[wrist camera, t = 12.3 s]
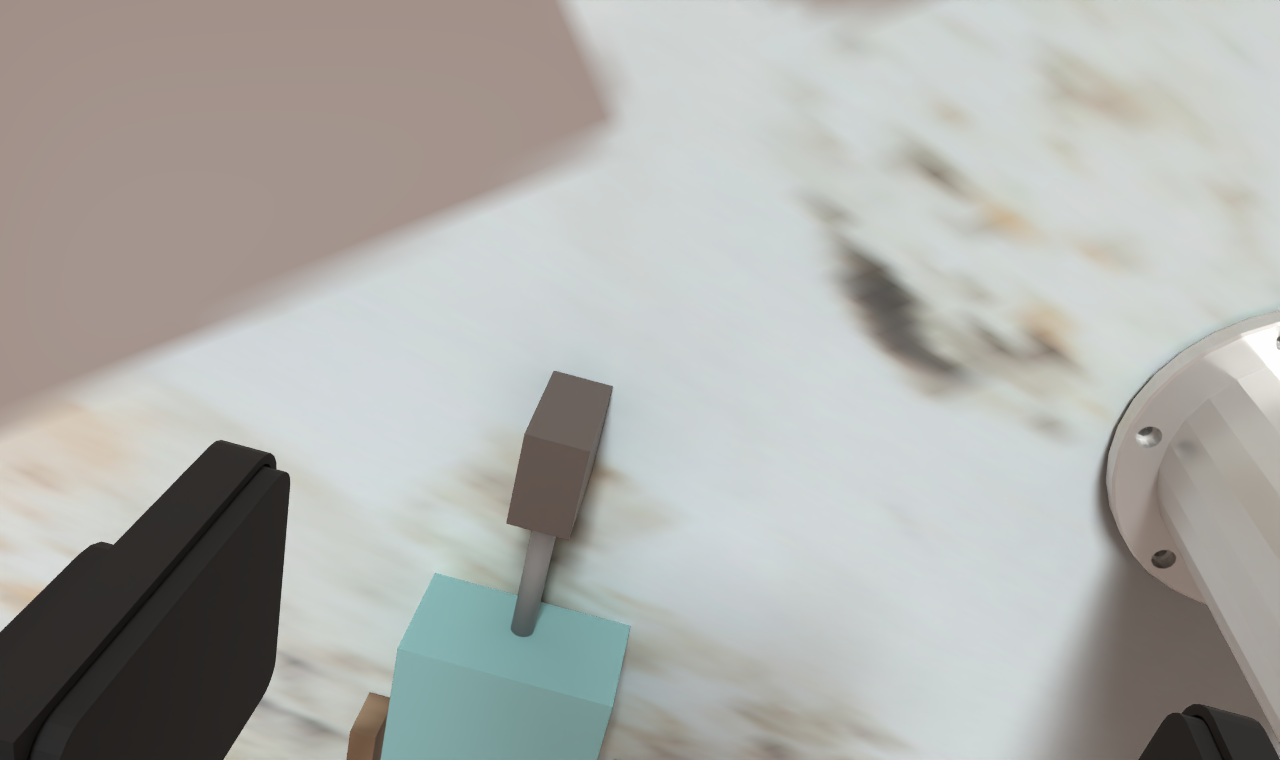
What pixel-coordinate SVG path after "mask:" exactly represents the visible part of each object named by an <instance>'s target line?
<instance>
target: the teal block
mask: <svg viewBox="0 0 1280 760" xmlns="http://www.w3.org/2000/svg"><path fill="white" fill-rule="evenodd" d="M612 387H613V386H609V385H605V384H602V383H598V382H594V381H590V380H587V379H583V378H579V377H575V376H572V375H568V374H564V373H560V372H557V371H554V372H553V374H552V376H551V378H550V380H549V382H548V385H547V387H546V389H545V391H544V393H543V395H542V398H541V400H540V402H539V404H538V406H537V408H536V411H535V413H534V415H533V417H532V419H531V421H530V424H529V426H528V428H527V430H526V432H525V435H524V440H523V444H522V449H521V454H520V459H519V464H518V469H517V474H516V479H515V484H514V488H513V493H512V498H511V503H510V508H509V513H508V518H507V523H506V524H510V525H514V526H518V527H521V528H525V529H529V530H532V533H531V537H530V542H529V546H528V551H527V555H526V560H525V564H524V569H523V574H522V578H521V583H520V587H519V592H518V595H514V594H511V593H507V592H503V591H500V590H496V589H492V588H489V587H485V586H481V585H477V584H474V583H470V582H466V581H463V580H459V579H455V578H452V577H448V576H444V575H441V574H437V573H435V575H434V577H433V579H432V581H431V583H430V585H429V587H428V589H427V591H426V593H425V595H424V597H423V599H422V601H421V603H420V605H419V607H418V609H417V611H416V613H415V615H414V617H413V619H412V621H411V623H410V625H409V627H408V629H407V631H406V633H405V635H404V637H403V639H402V641H401V643H400V645H399V647H398V650H397V657H396V663H395V670H394V676H393V683H392V689H391V696H390V702H389V709H388V715H387V722H386V728H385V735H384V741H383V748H382V754H381V760H597V759H598V755H599V752H600V748H601V745H602V742H603V738H604V735H605V731H606V728H607V725H608V721H609V718H610V714H611V711H612V708H613V703H614V699H615V694H616V690H617V685H618V680H619V676H620V671H621V667H622V662H623V657H624V653H625V648H626V644H627V639H628V635H629V630H630V626H628V625H625V624H621V623H617V622H614V621H610V620H606V619H603V618H599V617H595V616H592V615H588V614H584V613H581V612H577V611H573V610H569V609H566V608H562V607H558V606H555V605H551V604H547V603H544V602H541V598H542V594H543V589H544V585H545V581H546V577H547V572H548V568H549V564H550V560H551V555H552V551H553V547H554V542H555V538H556V537H558V538H562V539H566V540H569V538H570V535H571V532H572V529H573V526H574V523H575V520H576V517H577V514H578V511H579V508H580V505H581V502H582V499H583V496H584V493H585V490H586V487H587V484H588V481H589V478H590V475H591V472H592V469H593V465H594V461H595V457H596V453H597V449H598V444H599V440H600V436H601V432H602V428H603V424H604V420H605V416H606V412H607V408H608V404H609V400H610V396H611V391H612Z"/></svg>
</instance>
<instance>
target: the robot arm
mask: <svg viewBox="0 0 1280 760" xmlns="http://www.w3.org/2000/svg"><path fill="white" fill-rule="evenodd" d="M1279 336H1280V311H1277V312H1272V313H1268V314H1264V315H1260V316H1256V317H1252V318H1249V319H1246V320H1244V321H1241V322H1239V323H1236V324H1234V325H1231V326H1229V327H1226V328H1224V329H1221V330H1219V331H1216V332H1214V333H1212V334H1211V335H1209V336H1207V337H1206V338H1204V339H1202V340H1201V341H1199V342H1197V343H1196V344H1194V345H1192V346H1191V347H1189V348H1187V349H1186V350H1184V351H1182V352H1181V353H1180V354H1179V355H1177V356H1176V357H1175V358H1174V359H1173V360H1171V361H1170V362H1169V363H1168V364H1167V365H1165V366H1164V367H1163V368H1162V369H1161V370H1159V371H1158V372H1157V373H1156V374H1155V375H1154V376H1153V377H1152V378H1151V379H1150V381H1149V382H1148V383H1147V384H1146V385H1145V386H1144V388H1143V389H1142V390H1141V391H1140V392H1139V393H1138V395H1137V396H1136V397H1135V398H1134V399H1133V401H1132V403H1131V404H1130V406H1129V408H1128V409H1127V411H1126V413H1125V415H1124V416H1123V418H1122V420H1121V422H1120V423H1119V425H1118V427H1117V430H1116V433H1115V436H1114V439H1113V442H1112V445H1111V448H1110V451H1109V454H1108V464H1107V475H1106V485H1107V493H1108V500H1109V507H1110V509H1111V512H1112V514H1113V517H1114V519H1115V522H1116V524H1117V527H1118V530H1119V532H1120V534H1121V535H1122V537H1123V539H1124V541H1125V543H1126V544H1127V546H1128V548H1129V550H1130V552H1131V553H1132V555H1133V556H1134V557H1135V558H1136V559H1137V560H1138V562H1139V563H1140V564H1141V565H1142V566H1143V567H1144V569H1145V570H1146V571H1147V572H1149V573H1150V574H1151V575H1152V576H1154V577H1155V578H1157V579H1158V580H1159V581H1161V582H1162V583H1164V584H1165V585H1166V586H1168V587H1169V588H1171V589H1172V590H1174V591H1176V592H1178V593H1180V594H1182V595H1185V596H1187V597H1189V598H1191V599H1193V600H1195V601H1198V602H1200V603H1204V604H1207V606H1208V608H1209V610H1210V612H1211V613H1212V615H1213V617H1214V619H1215V621H1216V623H1217V625H1218V627H1219V629H1220V631H1221V632H1222V634H1223V636H1224V638H1225V640H1226V642H1227V644H1228V646H1229V648H1230V650H1231V651H1232V653H1233V655H1234V657H1235V659H1236V661H1237V663H1238V665H1239V667H1240V669H1241V670H1242V672H1243V674H1244V676H1245V678H1246V680H1247V682H1248V684H1249V686H1250V688H1251V689H1252V691H1253V693H1254V695H1255V697H1256V699H1257V701H1258V703H1259V705H1260V707H1261V708H1262V710H1263V712H1264V714H1265V716H1266V718H1267V720H1268V722H1269V724H1270V726H1271V727H1272V729H1273V731H1274V733H1275V735H1276V737H1277V739H1278V741H1279V743H1280V337H1279ZM1146 427H1147V428H1146ZM1143 428H1146V429H1144V430H1141V429H1143ZM289 492H290V477H289V474H288V473H287V472H284V471H280V470H276V460H275V457H274V456H273V455H272V454H271V453H267V452H264V451H260V450H256V449H253V448H249V447H245V446H241V445H238V444H234V443H230V442H227V441H223V440H220V441H216V442H214V443H213V444H212V445H211V446H209V447H208V448H207V450H206V451H205V452H204V453H203V454H202V455H201V456H200V457H199V458H198V459H197V460H196V461H195V462H194V463H193V464H192V465H191V466H190V467H189V468H188V469H187V470H186V471H185V472H184V473H183V474H182V475H181V476H180V477H179V478H178V479H177V480H176V481H175V482H174V483H173V484H172V485H171V486H170V488H169V489H168V490H167V491H166V492H165V493H164V494H163V495H162V496H161V497H160V498H159V499H158V500H157V501H156V502H155V503H154V504H153V505H152V506H151V507H150V508H149V509H148V510H147V511H146V512H145V513H144V514H143V515H142V516H141V517H140V518H139V519H138V520H137V521H136V522H135V523H134V524H133V526H132V527H131V528H130V529H129V530H128V531H127V532H126V533H125V534H124V535H123V536H122V537H121V538H120V539H119V540H118V541H117V542H116V543H115V544H114V545H112V544H108V543H105V542H99V543H96V544H93V545H90V546H89V547H88V548H87V549H85V550H84V551H83V552H81V553H80V554H79V555H78V556H77V557H76V558H75V559H74V560H73V561H72V562H71V563H70V564H69V565H68V566H67V567H66V568H65V569H64V570H63V571H62V572H61V573H60V574H59V575H58V576H57V577H56V578H55V579H54V580H53V581H52V582H51V583H50V584H49V585H48V586H47V587H46V588H45V589H44V590H43V591H42V592H41V593H40V594H39V595H38V596H36V597H35V598H34V599H33V600H32V601H31V602H30V603H29V604H28V605H27V606H26V607H25V608H24V609H23V610H22V611H21V612H20V613H19V614H18V615H17V616H16V617H15V618H14V619H13V620H12V621H11V622H10V623H9V624H8V625H7V626H6V627H5V628H4V629H3V630H2V631H1V632H0V760H223V759H224V758H225V756H226V755H227V753H228V751H229V750H230V748H231V747H232V745H233V743H234V742H235V740H236V739H237V737H238V735H239V734H240V732H241V731H242V729H243V728H244V726H245V724H246V723H247V721H248V720H249V718H250V716H251V715H252V713H253V712H254V710H255V708H256V707H257V705H258V704H259V702H260V700H261V699H262V697H263V695H264V694H265V692H266V690H267V687H268V685H269V683H270V680H271V677H272V674H273V670H274V667H275V660H276V649H277V637H278V625H279V613H280V601H281V589H282V577H283V565H284V552H285V540H286V528H287V516H288V504H289ZM1139 760H1280V759H1279V757H1278V755H1277V753H1276V751H1275V749H1274V747H1273V745H1272V743H1271V741H1270V739H1269V738H1268V736H1267V734H1266V732H1265V730H1264V729H1263V727H1262V726H1261V725H1260V723H1259V722H1257V721H1256V720H1254V719H1252V718H1250V717H1246V716H1242V715H1238V714H1235V713H1231V712H1227V711H1224V710H1220V709H1216V708H1213V707H1209V706H1205V705H1201V704H1193V705H1191V706H1190V707H1188V708H1186V709H1185V710H1184V712H1183V713H1182V714H1180V713H1172V714H1170V715H1168V716H1167V717H1166V718H1165V720H1164V721H1163V722H1162V724H1161V725H1160V727H1159V728H1158V730H1157V731H1156V733H1155V735H1154V736H1153V738H1152V739H1151V741H1150V742H1149V744H1148V746H1147V747H1146V749H1145V750H1144V752H1143V753H1142V755H1141V756H1140V758H1139Z"/></svg>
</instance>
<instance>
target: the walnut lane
mask: <svg viewBox="0 0 1280 760" xmlns="http://www.w3.org/2000/svg"><path fill="white" fill-rule="evenodd" d="M389 702H390V698H388V697H384V696H381V695H377V694H373V693H369V695H368V697H367V699H366V701H365V703H364V705H363V707H362V709H361V711H360V713H359V715H358V717H357V719H356V721H355V723H354V725H353V727H352V729H351V731H350V738H349V745H348V753H347V760H381V754H382V748H383V741H384V735H385V728H386V722H387V715H388V709H389Z"/></svg>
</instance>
